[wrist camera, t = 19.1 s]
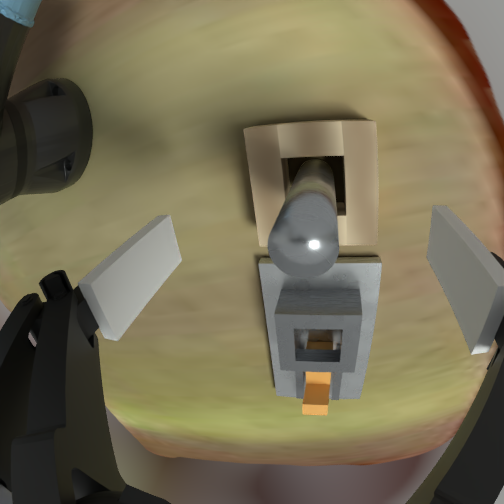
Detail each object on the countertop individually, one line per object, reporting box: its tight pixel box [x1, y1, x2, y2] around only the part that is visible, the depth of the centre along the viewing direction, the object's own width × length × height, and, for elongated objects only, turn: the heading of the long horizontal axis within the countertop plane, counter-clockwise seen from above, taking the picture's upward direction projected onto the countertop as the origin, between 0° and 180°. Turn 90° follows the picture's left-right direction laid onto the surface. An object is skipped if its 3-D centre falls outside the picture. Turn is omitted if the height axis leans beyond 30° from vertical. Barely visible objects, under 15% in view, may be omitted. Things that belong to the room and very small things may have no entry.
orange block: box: [303, 341, 333, 415], centre depth 31 cm, size 3×8×5 cm, turn 8°
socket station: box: [259, 257, 382, 400], centre depth 31 cm, size 12×22×5 cm, turn 8°
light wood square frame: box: [243, 120, 378, 246], centre depth 23 cm, size 10×10×4 cm
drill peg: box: [268, 159, 339, 279], centre depth 19 cm, size 3×3×14 cm
